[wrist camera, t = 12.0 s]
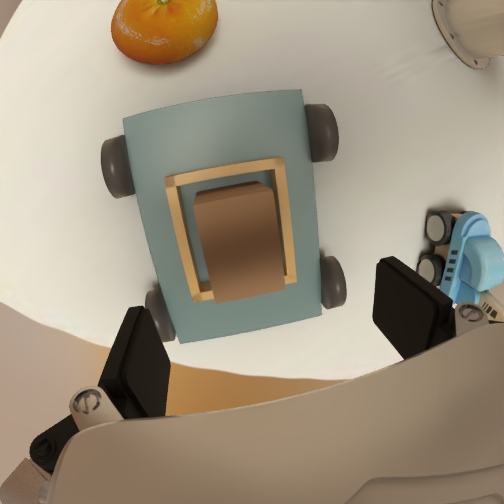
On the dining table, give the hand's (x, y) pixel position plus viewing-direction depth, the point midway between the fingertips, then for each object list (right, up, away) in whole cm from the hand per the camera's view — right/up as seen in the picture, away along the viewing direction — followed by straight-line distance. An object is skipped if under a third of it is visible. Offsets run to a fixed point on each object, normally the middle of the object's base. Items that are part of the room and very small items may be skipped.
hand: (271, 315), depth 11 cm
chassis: (-3, +5, +15) cm, 16 cm away
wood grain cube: (-2, +5, +13) cm, 14 cm away
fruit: (-8, +22, +8) cm, 25 cm away
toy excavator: (+24, +1, +21) cm, 32 cm away
